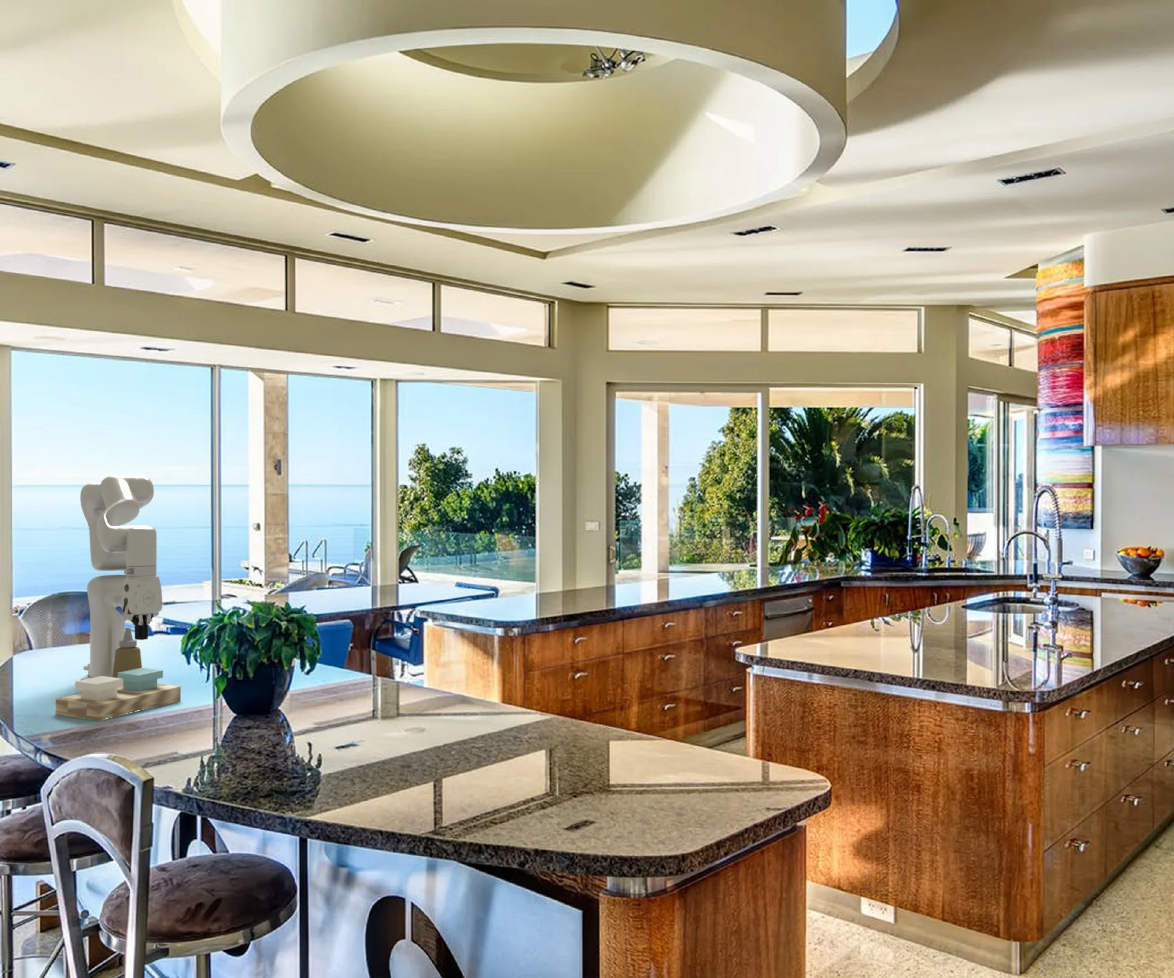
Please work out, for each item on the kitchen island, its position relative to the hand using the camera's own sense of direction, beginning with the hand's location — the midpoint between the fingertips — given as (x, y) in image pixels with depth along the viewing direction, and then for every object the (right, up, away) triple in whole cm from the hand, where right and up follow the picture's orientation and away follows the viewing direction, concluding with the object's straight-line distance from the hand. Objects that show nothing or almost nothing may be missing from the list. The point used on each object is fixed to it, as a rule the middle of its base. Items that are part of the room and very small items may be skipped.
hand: (141, 639), depth 269 cm
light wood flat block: (-3, -18, -5) cm, 19 cm away
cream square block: (-6, -14, -11) cm, 19 cm away
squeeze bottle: (-11, -17, +16) cm, 26 cm away
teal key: (-1, -14, +1) cm, 14 cm away
